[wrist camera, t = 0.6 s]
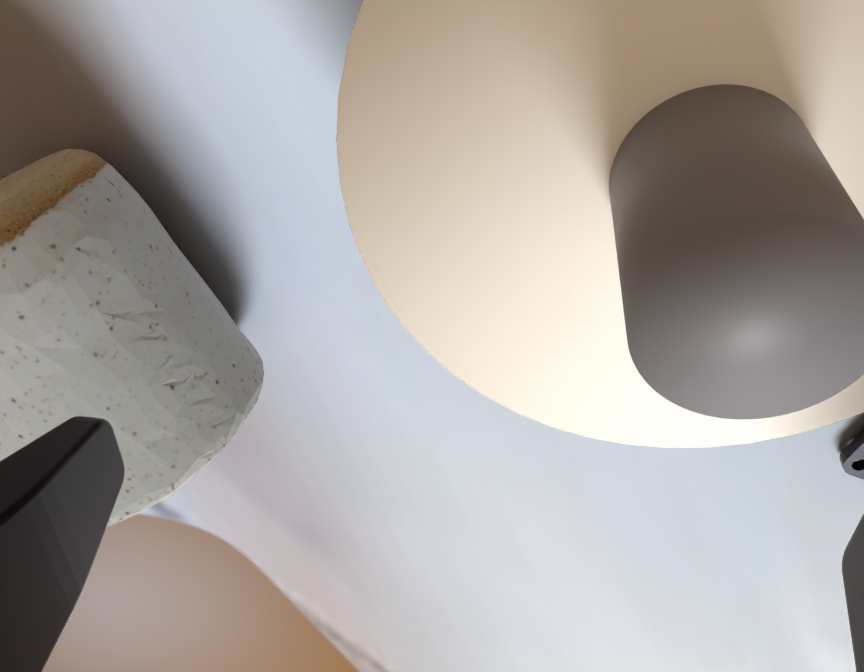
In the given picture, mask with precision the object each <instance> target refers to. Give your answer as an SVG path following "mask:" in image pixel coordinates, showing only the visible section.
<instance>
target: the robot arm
mask: <svg viewBox="0 0 864 672" xmlns="http://www.w3.org/2000/svg"><path fill="white" fill-rule="evenodd" d="M860 459H862V460H860ZM856 460H860V461H856ZM840 461H841V464H842V467H843V469H844V471H845V472H846V473H848V474H850V475H852V476H855V477H858V478H861V479H864V430H863V431H862V432H861V433H860V434H859V435H858V436H857V437H856V438H855V439H854V440H853V441H852V442H851V443H850V444H849V445H848V446H847V447H846V448H845V449H844V450H843V451H842V453H841V454H840ZM124 474H125V467H124V462H123V458H122V455H121V452H120V449H119V446H118V443H117V440H116V437H115V433H114V430H113V427H112V425H111V424H110V423H109V422H108V421H107V420H105V419H103V418H94V417H85V416H75V417H72V418H70V419H68V420H67V421H65V422H63V423H62V424H60V425H58V426H57V427H55V428H53V429H52V430H50V431H49V432H47V433H45V434H44V435H42V436H40V437H39V438H37V439H35V440H34V441H32V442H31V443H29V444H27V445H26V446H24V447H22V448H21V449H19V450H17V451H16V452H14V453H13V454H11V455H9V456H8V457H6V458H4V459H3V460H1V461H0V672H42V670H43V668H44V666H45V664H46V662H47V660H48V658H49V656H50V654H51V652H52V650H53V648H54V646H55V644H56V642H57V640H58V638H59V636H60V634H61V632H62V630H63V628H64V627H65V625H66V623H67V620H68V618H69V617H70V615H71V612H72V611H73V609H74V606H75V604H76V602H77V600H78V598H79V596H80V594H81V592H82V589H83V587H84V584H85V582H86V579H87V577H88V575H89V572H90V569H91V567H92V564H93V561H94V559H95V556H96V553H97V551H98V548H99V545H100V543H101V540H102V537H103V535H104V532H105V529H106V527H107V524H108V521H109V519H110V516H111V513H112V511H113V508H114V505H115V503H116V500H117V497H118V495H119V492H120V489H121V487H122V484H123V480H124ZM842 573H843V580H844V588H845V595H846V602H847V609H848V616H849V623H850V630H851V637H852V644H853V651H854V658H855V665H856V672H864V514H863V516H862V518H861V520H860V522H859V524H858V526H857V528H856V530H855V531H854V533H853V535H852V537H851V539H850V541H849V543H848V545H847V547H846V549H845V551H844V555H843V560H842Z"/></svg>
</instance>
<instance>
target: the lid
mask: <svg viewBox="0 0 864 672" xmlns="http://www.w3.org/2000/svg"><path fill="white" fill-rule="evenodd" d="M336 141H337V153H338V165H339V177H340V186H341V190H342V194H343V199H344V203H345V208H346V212H347V217H348V221H349V225H350V228H351V230H352V233H353V236H354V238H355V241H356V244H357V246H358V249H359V252H360V255H361V257H362V260H363V262H364V264H365V266H366V268H367V270H368V272H369V273H370V275H371V277H372V279H373V281H374V283H375V285H376V287H377V288H378V290H379V292H380V294H381V296H382V297H383V299H384V300H385V301H386V303H387V304H388V306H389V307H390V308H391V310H392V311H393V313H394V314H395V315H396V317H397V318H398V320H399V321H400V322H401V324H402V325H403V327H404V328H405V329H406V330H407V331H408V332H409V333H410V334H411V335H412V336H413V337H414V338H415V340H416V341H417V342H418V343H419V344H420V345H421V346H422V347H423V348H424V349H425V350H426V351H427V353H428V354H430V355H431V356H432V357H433V358H434V359H436V360H437V361H438V362H439V363H440V364H441V365H443V366H444V367H445V368H446V369H447V370H448V371H450V372H451V373H452V374H453V375H454V376H456V377H457V378H458V379H460V380H461V381H463V382H464V383H466V384H467V385H469V386H470V387H472V388H473V389H475V390H476V391H478V392H479V393H481V394H482V395H484V396H485V397H487V398H489V399H491V400H493V401H495V402H497V403H498V404H500V405H502V406H504V407H506V408H508V409H510V410H512V411H514V412H516V413H518V414H520V415H522V416H525V417H528V418H530V419H533V420H535V421H538V422H540V423H543V424H545V425H548V426H551V427H553V428H556V429H560V430H564V431H567V432H571V433H574V434H578V435H582V436H585V437H589V438H594V439H599V440H605V441H611V442H616V443H622V444H628V445H639V446H652V447H664V448H698V447H717V446H727V445H737V444H748V443H753V442H759V441H764V440H769V439H775V438H780V437H786V436H791V435H794V434H798V433H802V432H805V431H809V430H812V429H816V428H820V427H823V426H827V425H831V424H834V423H836V422H839V421H842V420H844V419H847V418H850V417H852V416H855V415H858V414H861V413H863V412H864V0H363V2H362V5H361V8H360V11H359V14H358V17H357V20H356V23H355V26H354V29H353V32H352V35H351V37H350V40H349V43H348V48H347V53H346V58H345V64H344V69H343V74H342V79H341V84H340V90H339V99H338V118H337V137H336Z"/></svg>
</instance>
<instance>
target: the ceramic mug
mask: <svg viewBox="0 0 864 672" xmlns="http://www.w3.org/2000/svg"><path fill="white" fill-rule="evenodd" d="M263 377H264V370H263V362H262V360H261V358H260V356H259V354H258V352H257V350H256V349H255V348H254V346H253V345H252V344H251V342H250V341H249V340H248V339H247V338H246V337H245V335H244V334H243V333H242V332H241V331H240V330H239V328H238V327H237V325H236V324H235V322H234V321H233V320H232V318H231V317H230V315H229V314H228V312H227V311H226V310H225V308H224V307H223V305H222V304H221V302H220V301H219V300H218V299H217V297H216V296H215V295H214V293H213V292H212V291H211V289H210V288H209V287H208V285H207V284H206V283H205V282H204V280H203V279H202V278H201V276H200V275H199V274H198V272H197V271H196V270H195V269H194V267H193V266H192V265H191V264H190V262H189V261H188V260H187V259H186V257H185V256H184V255H183V254H182V252H181V251H180V250H179V248H178V247H177V246H176V244H175V243H174V242H173V240H172V239H171V238H170V236H169V235H168V233H167V232H166V230H165V229H164V227H163V226H162V224H161V223H160V222H159V220H158V219H157V217H156V216H155V214H154V213H153V211H152V210H151V209H150V208H149V206H148V205H147V204H146V203H145V201H144V200H143V199H142V198H141V196H140V195H139V194H138V192H137V191H136V190H135V189H134V188H133V187H132V186H131V185H130V184H129V183H128V182H127V181H126V180H125V179H124V178H123V177H122V176H121V175H120V174H119V173H118V172H117V171H116V169H115V168H114V167H113V166H111V165H110V164H109V163H107V162H106V161H105V160H103V159H102V158H101V157H99V156H98V155H97V154H95V153H92V152H89V151H86V150H82V149H70V148H68V149H64V150H60V151H58V152H55V153H53V154H50V155H48V156H45V157H43V158H41V159H39V160H37V161H35V162H33V163H31V164H29V165H27V166H25V167H23V168H21V169H19V170H17V171H16V172H14V173H12V174H10V175H8V176H6V177H4V178H3V179H1V180H0V461H1V460H3V459H4V458H6V457H8V456H9V455H11V454H13V453H14V452H16V451H17V450H19V449H21V448H22V447H24V446H26V445H27V444H29V443H31V442H32V441H34V440H35V439H37V438H39V437H40V436H42V435H44V434H45V433H47V432H49V431H50V430H52V429H53V428H55V427H57V426H58V425H60V424H62V423H63V422H65V421H67V420H68V419H70V418H72V417H75V416H85V417H94V418H103V419H105V420H107V421H108V422H109V423H110V424H111V425H112V427H113V430H114V433H115V437H116V440H117V443H118V446H119V449H120V452H121V455H122V458H123V462H124V467H125V474H124V480H123V484H122V487H121V489H120V492H119V495H118V497H117V500H116V503H115V505H114V508H113V511H112V513H111V516H110V519H109V521H108V524H107V527H108V526H110V525H113V524H116V523H118V522H121V521H123V520H125V519H127V518H129V517H132V516H134V515H136V514H138V513H140V512H142V511H143V510H145V509H147V508H149V507H151V506H153V505H154V504H156V503H158V502H160V501H162V500H164V499H165V498H166V497H168V496H169V495H171V494H172V493H173V492H175V491H176V490H177V489H179V488H180V487H181V486H183V485H184V484H185V483H187V482H188V481H189V480H190V479H191V478H192V477H193V476H194V475H195V474H196V473H197V472H198V471H200V470H201V469H202V468H203V467H204V466H206V465H207V464H208V463H209V462H210V461H211V460H212V459H213V458H215V457H216V456H217V455H218V454H219V453H220V452H221V451H222V450H223V448H224V447H225V446H226V444H227V443H228V442H229V441H230V439H231V438H232V437H233V436H234V434H235V433H236V431H237V430H238V429H239V428H240V426H241V425H242V424H243V422H244V420H245V419H246V417H247V416H248V414H249V413H250V411H251V410H252V408H253V406H254V405H255V403H256V402H257V399H258V396H259V394H260V391H261V387H262V384H263Z"/></svg>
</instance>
